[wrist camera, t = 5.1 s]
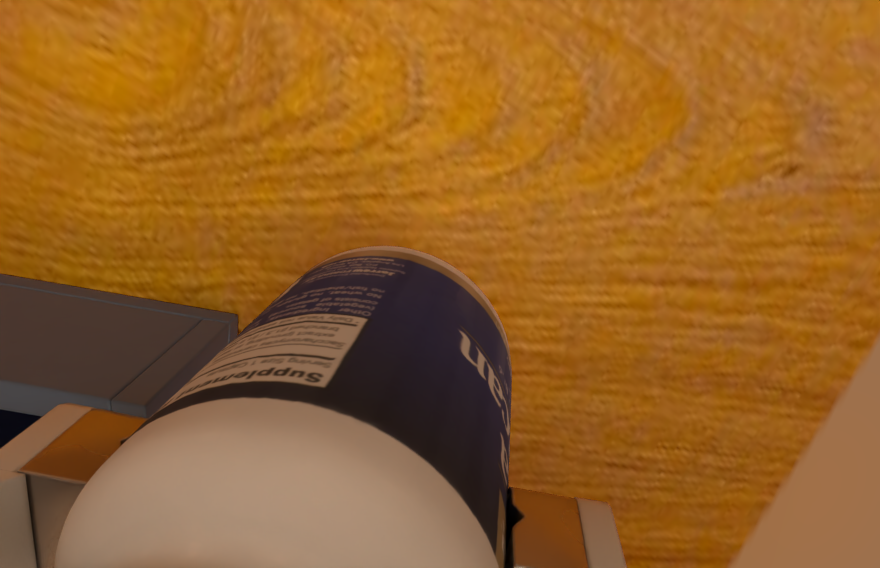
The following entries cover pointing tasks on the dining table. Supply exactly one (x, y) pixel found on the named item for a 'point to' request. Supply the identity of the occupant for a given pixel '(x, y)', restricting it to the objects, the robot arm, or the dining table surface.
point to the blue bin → (100, 347)
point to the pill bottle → (323, 435)
